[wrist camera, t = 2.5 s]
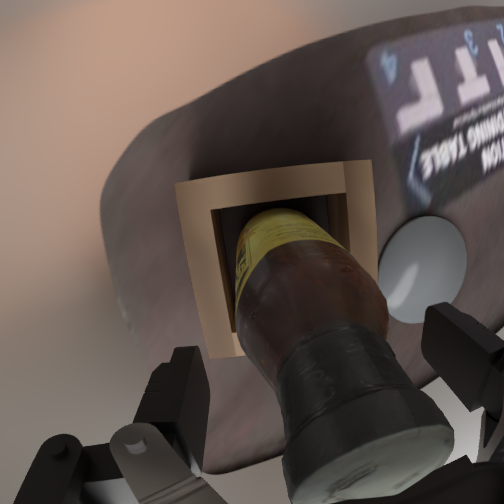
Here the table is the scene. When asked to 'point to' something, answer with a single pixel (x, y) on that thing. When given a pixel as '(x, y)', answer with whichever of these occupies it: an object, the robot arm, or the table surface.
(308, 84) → the table surface
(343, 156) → the table surface
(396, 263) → the slate coaster
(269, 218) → the sauce bottle
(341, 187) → the walnut holder
